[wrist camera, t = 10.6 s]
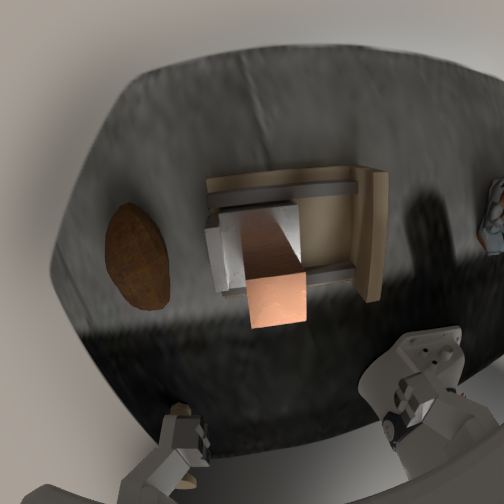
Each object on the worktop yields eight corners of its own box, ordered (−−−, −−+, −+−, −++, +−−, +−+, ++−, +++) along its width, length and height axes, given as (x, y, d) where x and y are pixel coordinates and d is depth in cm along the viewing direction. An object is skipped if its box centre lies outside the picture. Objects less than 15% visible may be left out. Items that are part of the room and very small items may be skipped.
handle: (203, 413, 40) (200, 489, 26) (169, 414, 40) (159, 487, 26) (194, 397, 38) (188, 479, 24) (158, 399, 38) (144, 476, 24)
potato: (138, 298, 31) (120, 333, 25) (103, 208, 27) (72, 227, 20) (189, 287, 31) (180, 323, 24) (157, 190, 26) (135, 204, 20)
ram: (291, 198, 26) (332, 238, 15) (295, 267, 29) (329, 337, 18) (207, 208, 26) (190, 256, 15) (218, 276, 29) (213, 353, 18)
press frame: (359, 165, 27) (388, 172, 21) (357, 273, 32) (379, 300, 26) (207, 178, 26) (200, 187, 21) (225, 292, 31) (224, 325, 26)
